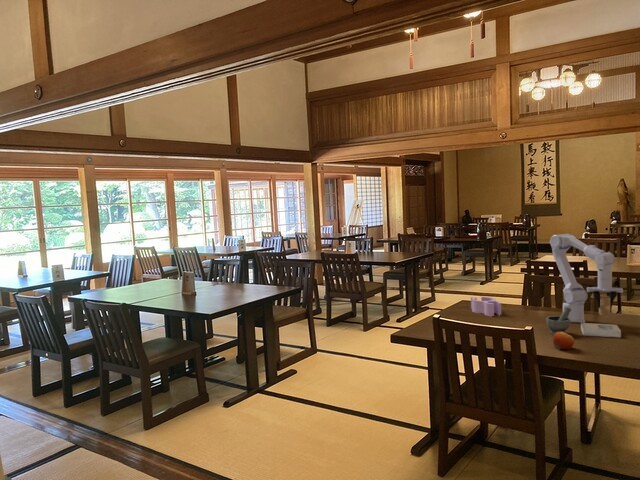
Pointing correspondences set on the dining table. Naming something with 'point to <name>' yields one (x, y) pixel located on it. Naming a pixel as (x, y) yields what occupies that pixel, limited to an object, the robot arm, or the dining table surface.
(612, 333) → the white rectangular slab
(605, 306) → the peg
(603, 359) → the dining table surface
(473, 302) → the clip
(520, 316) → the dining table surface
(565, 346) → the fruit
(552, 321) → the mortar and pestle
